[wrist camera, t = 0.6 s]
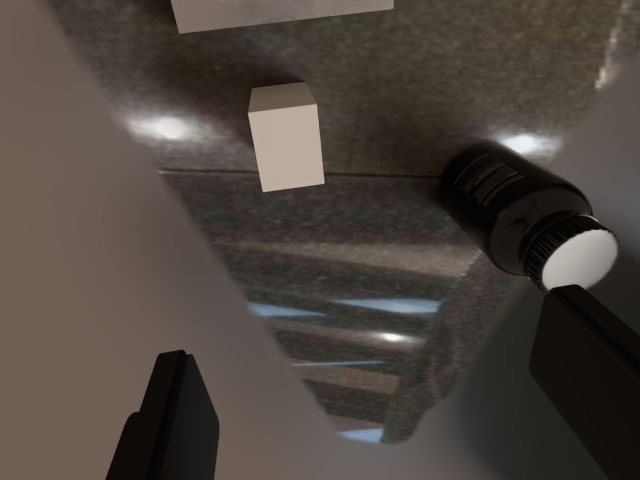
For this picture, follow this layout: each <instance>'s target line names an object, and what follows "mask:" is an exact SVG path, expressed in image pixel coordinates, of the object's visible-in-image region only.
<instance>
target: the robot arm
mask: <svg viewBox="0 0 640 480" xmlns="http://www.w3.org/2000/svg"><path fill="white" fill-rule="evenodd" d="M529 369H530V372H531V375H532V376H533V378H534V379H535V381H536V382H537V383H538V385H539V386H540V387H541V389H542V390H543V391H544V393H545V394H546V395H547V397H548V398H549V399H550V401H551V402H552V403H553V405H554V406H555V407H556V409H557V410H558V411H559V413H560V414H561V415H562V417H563V418H564V419H565V421H566V422H567V423H568V425H569V426H570V428H571V429H572V430H573V431H574V433H575V434H576V436H577V437H578V438H579V440H580V441H581V442H582V443H583V445H584V446H585V448H586V449H587V450H588V451H589V453H590V454H591V456H592V457H593V458H594V460H595V461H596V462H597V464H598V465H599V466H600V468H601V469H602V470H603V472H604V473H605V474H606V476H607V477H608V478H609V480H640V336H639V335H638V334H637V333H636V332H635V331H634V330H632V329H631V328H630V327H629V326H628V325H626V324H625V323H624V322H623V321H622V320H620V319H619V318H618V317H617V316H616V315H615V314H613V313H612V312H611V311H610V310H608V309H607V308H606V307H605V306H604V305H603V304H602V303H600V302H599V301H598V300H597V299H596V298H594V297H593V296H592V295H591V294H590V293H588V292H587V291H586V290H585V289H584V288H583V287H581V286H580V285H578V284H571V285H565V286H559V287H554V288H552V289H551V290H550V292H549V294H547V295H546V296H545V298H544V301H543V306H542V310H541V314H540V318H539V323H538V327H537V331H536V335H535V340H534V344H533V348H532V353H531V357H530V361H529ZM218 440H219V420H218V417H217V414H216V412H215V409H214V407H213V404H212V402H211V400H210V397H209V394H208V392H207V389H206V387H205V384H204V381H203V379H202V376H201V374H200V371H199V369H198V366H197V364H196V361H195V359H194V356H193V355H192V354H189V355H187V354H186V352H185V351H184V350H177V351H172V352H166V353H160V354H159V355H158V357H157V359H156V362H155V365H154V368H153V372H152V374H151V377H150V381H149V384H148V387H147V390H146V393H145V396H144V399H143V402H142V405H141V408H140V411H139V412H134V413H132V414H131V415H130V416H129V417H128V419H127V421H126V423H125V426H124V429H123V431H122V434H121V437H120V440H119V443H118V445H117V448H116V451H115V454H114V457H113V460H112V462H111V465H110V468H109V471H108V474H107V476H106V479H105V480H214V474H215V465H216V457H217V449H218Z"/></svg>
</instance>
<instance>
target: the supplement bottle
mask: <svg viewBox="0 0 640 480" xmlns="http://www.w3.org/2000/svg"><path fill="white" fill-rule="evenodd" d="M440 199H441V203H442V205H443V207H444V209H445V210H446V212H447V213H448V214H449V215H450V216H451V218H452V219H453V220H454V221H455V222H456V223H457V224H458V225H459V227H460V228H461V229H462V230H463V231H464V232H465V233H466V234H467V235H468V237H469V238H470V239H471V240H472V241H473V242H474V243H475V244H476V245H477V247H478V248H479V249H480V250H481V251H482V252H483V253H484V254H485V255H486V257H487V258H488V259H489V260H490V261H491V262H492V263H493V264H494V265H495V266H496V267H497V268H499V269H500V270H502V271H503V272H506V273H508V274H511V275H516V276H525V277H527V278H528V279H529V280H530V281H532V282H534V284H535V285H537V287H538V288H539V289H541V290H542V291H544V292H545V293H546V294H549V292H550V290H551V289H552V288H554V287H559V286H565V285H571V284H578V285H580V286H581V287H583V288H584V289H585V290H589V289H590V288H592V287H593V286H595V285H597V284H598V283H599V282H600V281H602V280H603V279H604V278H605V276H607V275H608V274H609V273H610V271H611V269H613V268H614V266H615V263H616V262H617V261H618V256H619V255H620V248H621V246H620V241H619V240H618V237H617V235H616V234H614V233H613V232H612V231H611V230H610V229H608V228H607V227H606V226H604V225H602V224H601V223H600V221H599V220H597V219H596V218H595V217H593V210H592V206H591V203H590V201H589V199H588V197H587V196H586V195H585V193H584V192H583V191H581V190H580V189H579V188H578V187H576V186H575V185H573V184H571V183H570V182H568V181H566V180H565V179H563V178H561V177H559V176H558V175H556V174H554V173H552V172H551V171H549V170H547V169H546V168H544V167H542V166H540V165H539V164H537V163H535V162H533V161H532V160H530V159H528V158H526V157H525V156H523V155H521V154H520V153H518V152H516V151H514V150H512V149H511V148H509V147H507V146H504V145H501V144H497V143H484V144H479V145H476V146H473V147H471V148H469V149H467V150H465V151H464V152H462V153H461V154H459V155H458V156H457V157H456V158H455V159H454V160H453V161H452V162H451V163H450V165H449V166H448V167H447V169H446V171H445V173H444V175H443V177H442V180H441V184H440Z"/></svg>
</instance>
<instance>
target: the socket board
mask: <svg viewBox="0 0 640 480" xmlns="http://www.w3.org/2000/svg"><path fill="white" fill-rule="evenodd" d="M171 3H172V7H173V11H174V15H175V19H176V23H177V27H178V31H179V34H180V33H189V32H198V31H206V30H215V29H223V28H232V27H241V26H249V25H258V24H267V23H275V22H284V21H292V20H301V19H310V18H318V17H327V16H335V15H344V14H353V13H361V12H370V11H379V10H387V9H393V0H171Z"/></svg>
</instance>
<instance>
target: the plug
mask: <svg viewBox="0 0 640 480" xmlns="http://www.w3.org/2000/svg"><path fill="white" fill-rule="evenodd" d="M248 116H249V121H250V127H251V132H252V137H253V142H254V148H255V153H256V158H257V163H258V168H259V174H260V179H261V184H262V189H263V192H267V191H274V190H281V189H288V188H296V187H303V186H310V185H317V184H324V174H323V164H322V154H321V143H320V133H319V123H318V113H317V104H316V102H315V100H314V98H313V96H312V94H311V92H310V90H309V88H308V86H307V84H306V82H298V83H290V84H282V85H274V86H266V87H258V88H252V92H251V98H250V103H249V109H248Z"/></svg>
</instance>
